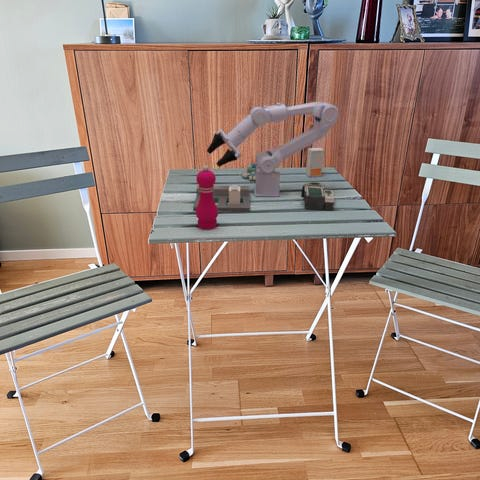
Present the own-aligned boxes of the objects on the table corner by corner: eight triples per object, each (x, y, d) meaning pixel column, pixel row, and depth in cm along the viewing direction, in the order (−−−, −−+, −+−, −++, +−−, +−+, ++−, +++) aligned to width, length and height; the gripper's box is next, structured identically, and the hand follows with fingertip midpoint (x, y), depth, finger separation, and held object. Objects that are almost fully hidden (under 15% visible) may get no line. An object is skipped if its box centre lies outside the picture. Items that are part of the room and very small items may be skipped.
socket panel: (249, 195, 156) (249, 185, 155) (249, 211, 142) (250, 200, 140) (197, 195, 157) (197, 184, 155) (193, 211, 142) (192, 199, 140)
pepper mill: (201, 231, 127) (199, 170, 118) (192, 223, 133) (190, 164, 124) (222, 227, 130) (221, 167, 121) (212, 219, 136) (211, 161, 127)
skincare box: (308, 177, 178) (311, 150, 173) (305, 174, 182) (307, 148, 176) (321, 176, 179) (324, 149, 174) (317, 173, 183) (320, 147, 178)
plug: (240, 202, 150) (240, 184, 147) (240, 208, 145) (240, 189, 142) (229, 202, 150) (229, 184, 147) (228, 207, 145) (228, 189, 142)
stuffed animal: (239, 169, 169) (243, 157, 179) (239, 184, 174) (243, 171, 183) (265, 171, 168) (267, 158, 177) (264, 186, 172) (266, 172, 182)
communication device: (330, 190, 165) (332, 169, 161) (334, 212, 144) (337, 188, 140) (300, 188, 166) (302, 167, 162) (300, 209, 145) (302, 186, 141)
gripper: (225, 116, 147) (198, 141, 150) (245, 140, 140) (216, 167, 143) (234, 125, 153) (208, 149, 156) (253, 149, 147) (226, 174, 149)
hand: (213, 158), depth 150 cm, fingers open, 7 cm apart
